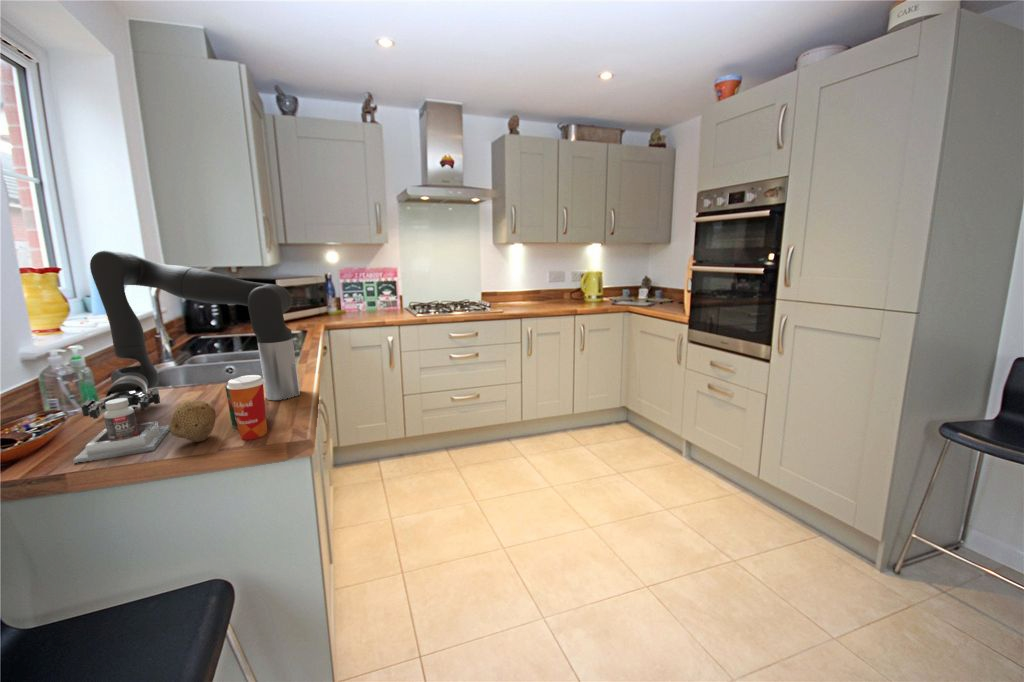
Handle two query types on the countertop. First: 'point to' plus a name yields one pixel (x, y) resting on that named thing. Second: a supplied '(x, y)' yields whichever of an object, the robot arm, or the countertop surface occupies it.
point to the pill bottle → (120, 419)
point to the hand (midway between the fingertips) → (119, 410)
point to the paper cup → (248, 405)
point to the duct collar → (123, 443)
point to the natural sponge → (193, 420)
